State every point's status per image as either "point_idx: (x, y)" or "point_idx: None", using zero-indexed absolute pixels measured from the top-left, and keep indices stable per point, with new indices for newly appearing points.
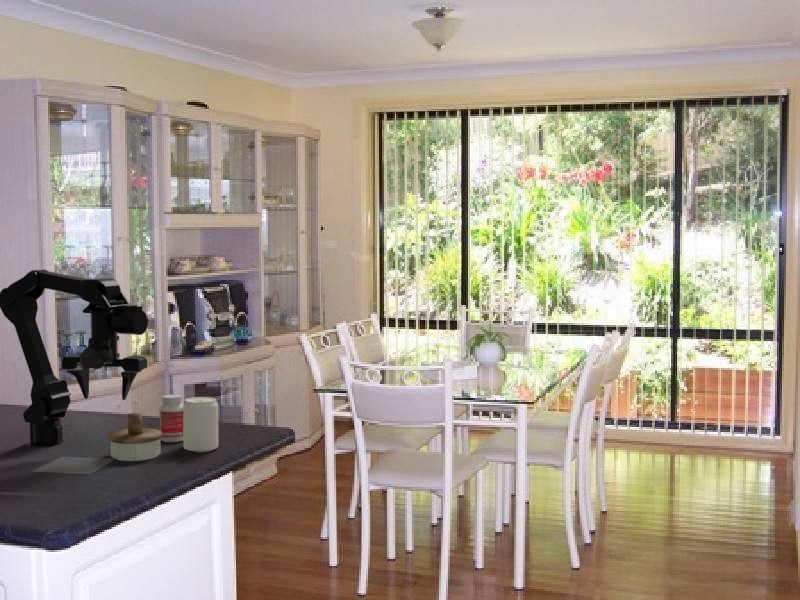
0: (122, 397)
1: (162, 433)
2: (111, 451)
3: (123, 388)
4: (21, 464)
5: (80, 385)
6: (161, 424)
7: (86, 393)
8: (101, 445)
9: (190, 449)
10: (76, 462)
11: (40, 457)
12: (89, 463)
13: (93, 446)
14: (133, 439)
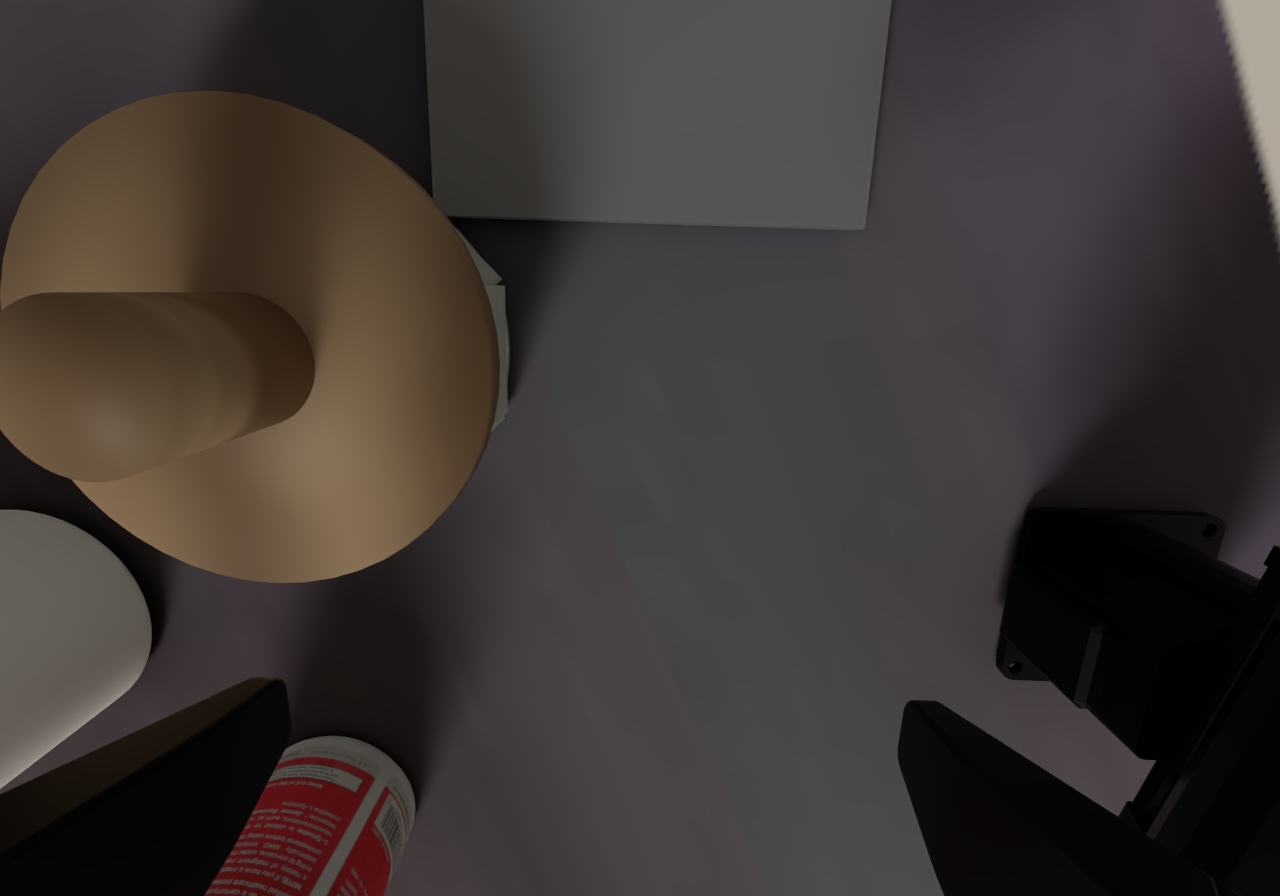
0: (249, 696)
1: (352, 784)
2: (482, 268)
3: (43, 803)
4: (1107, 32)
5: (1186, 875)
6: (331, 843)
7: (944, 776)
8: (726, 629)
9: (46, 518)
10: (681, 59)
11: (1028, 265)
12: (567, 38)
13: (768, 599)
14: (132, 106)
